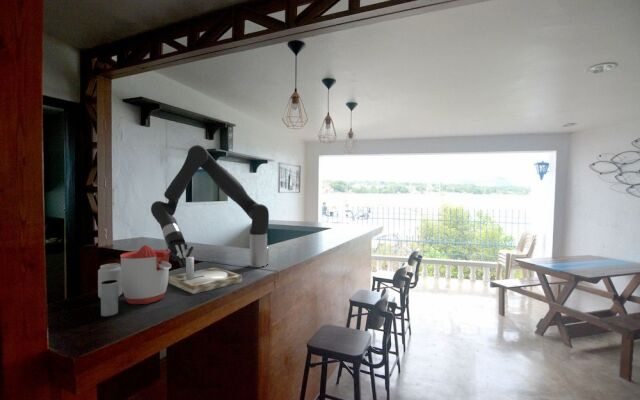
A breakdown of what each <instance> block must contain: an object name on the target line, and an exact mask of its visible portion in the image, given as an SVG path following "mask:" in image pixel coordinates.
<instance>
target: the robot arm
mask: <svg viewBox="0 0 640 400" xmlns="http://www.w3.org/2000/svg"><path fill="white" fill-rule="evenodd" d="M186 155H187V156H186V158H185V159H184V163H183V164H182V166H181V168H180V169H179V171H178V173H177V174H176V175H175V176H174V178H173V179H172V181H171V182H170V184H169V185H168V187H167V188H166V190H165V192H164V194H163V196H164V198H165V199H167V200H168V202H164V201H160V200H158V201H157V200H156V201H154V202H153V203H152V204H151V207H150V211H151V215H152V217H153V218H154V219H155V220H156V221H157V223H158V224H159V225H160V228H161V231H162V236H163V238H164V241H165V244H166V247H167V248H166V249H165V250H167V251H169V260H172V261H174V262H176V261H177V262H178V263H179V266H180V268H183V269H186V257H191V256H190V255H191V254H192V252H193V250H194V246H189V245H188V243H186V241H185V238H184V235H183V232H182V230H181V228H180V226H179V224H178V222H177V219H176V218H175V217H174V215H175V213H176V210H177V207H178V203H179V200H180V199H181V196H183V194H184V192H185V190H186V189H187V187H188V186H189V184H190V182H191V179H193V177H194V175H195V174H196V173H197V171H198V170H199V169H200V168H201V169H202V170H203V171H204V172H205V173H207V175H208V176H209V177H210V178H211V180H212V181H213V182H214V183H215V185H216V186H217V187H218V188H219V189H220V190H221V191H222V192H223V193H224V194H225V195H226V196H227V197H228V198H230V199H231V200H232V201H233V202H234V203H236V204H237V205H238V206H239V207H240V208H241V209H242V210H243V212H245V213H246V215H247V216H248V217H249V218H250V219H251V227H250V228H249V267H250V268H263V267H262V266H264V267H267V266H268V265H267V264H269V263H270V262H269V258H270V257H269V256H270V254H269V253H270V252H269V250H270V249H269V247H268V231H269V222H270V220H269V217H270V213H269V209H268V207H267V206H266V205H265V204H263V203H262V204H261V203H258V202H257V201H255V200H254V199H252V197H251V196H250V195H249V194H248V193H247V191H246V190H245V188H244V187H243V185H242V183H240V182H239V180H238V179H237V178H236V177H235V176H233V174H232V173H230V172H229V171H228V170H226V169H225V168H224V167H223V166H222V165H221V164H219V163H218V162H217V161H216V159H214V158H213V156H212V155H211V154H210V153H209V151H208V150H207V149H206V147H204V146H202V145H199V144H195V145H193V146H191V147H190V148H189V149H188V151H187V154H186ZM186 252H187V254H186ZM266 265H267V266H266ZM269 265H270V264H269Z"/></svg>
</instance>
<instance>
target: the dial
mask: <svg viewBox="0 0 640 400" xmlns="http://www.w3.org/2000/svg"><path fill="white" fill-rule="evenodd" d="M194 271H195V257H194V256H189V257H186V268H185V273H186V275H185V276H184V277H183V280H185V281H188V282H190V283H192V284H200V283H205V282H209V281H214V280H218V279H223V278H227V273H226V272H223V271H200V272H194Z"/></svg>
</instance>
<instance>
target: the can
mask: <svg viewBox="0 0 640 400" xmlns="http://www.w3.org/2000/svg"><path fill="white" fill-rule="evenodd" d="M99 267H100V268H99V269H98V270H97V294H98V295H97V296H98V298H99V299H101V282H103V281H107V280H118V298H119V297H120V296H121V295H122V294H124V293H123V290H122V286H121V263H115V262H114V263H107V264H102V265H100V266H99Z"/></svg>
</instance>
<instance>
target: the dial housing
mask: <svg viewBox="0 0 640 400" xmlns="http://www.w3.org/2000/svg"><path fill="white" fill-rule="evenodd" d="M200 271H223V272H226V273H227V278H223V279H218V280H214V281H209V282H205V283H200V284H192V283H190V282H188V281H185V280H183V277H184V276H185V275H186V272H183V273H177V274H172V275H169V278H168V284H170V285H172V286H174V287H177V288H179V289H180V290H183V291H185V292H187V293H190V294H192V295H196V294H200V293H202V292H208V291H211V290H215V289H218V288H219V289H220V288H224V287H228V286H232V285H236V284H241V283H242V282H243V275H242V274H241V273H240V274H239V273H235V272H232V271H229V270H226V269H222V268H220V267H216V266H215V267H210V268H209V267H208V268H205V269H199V270H194V272H200Z"/></svg>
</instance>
